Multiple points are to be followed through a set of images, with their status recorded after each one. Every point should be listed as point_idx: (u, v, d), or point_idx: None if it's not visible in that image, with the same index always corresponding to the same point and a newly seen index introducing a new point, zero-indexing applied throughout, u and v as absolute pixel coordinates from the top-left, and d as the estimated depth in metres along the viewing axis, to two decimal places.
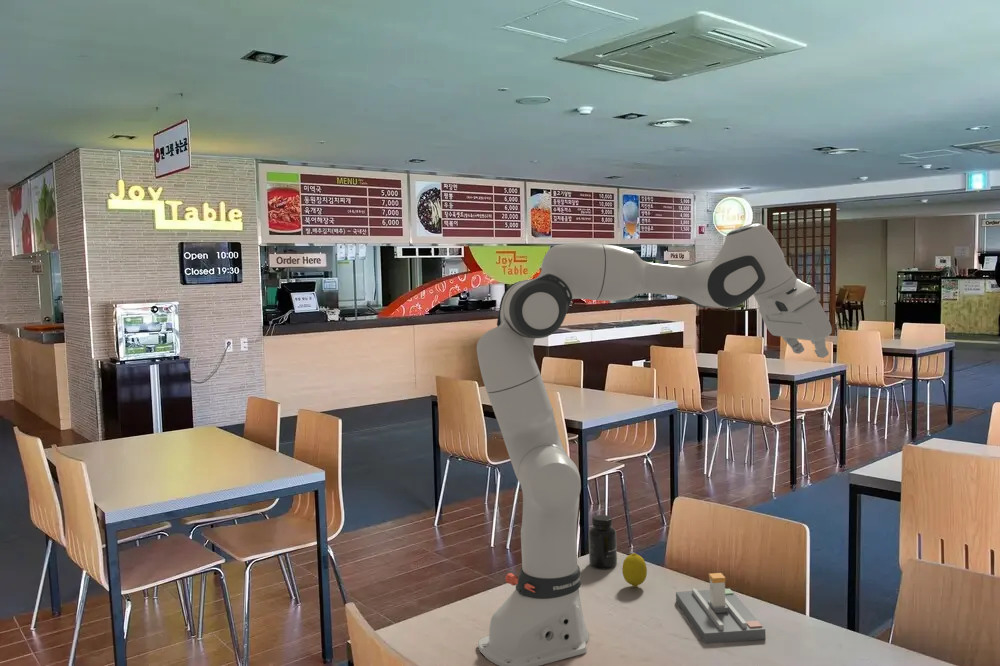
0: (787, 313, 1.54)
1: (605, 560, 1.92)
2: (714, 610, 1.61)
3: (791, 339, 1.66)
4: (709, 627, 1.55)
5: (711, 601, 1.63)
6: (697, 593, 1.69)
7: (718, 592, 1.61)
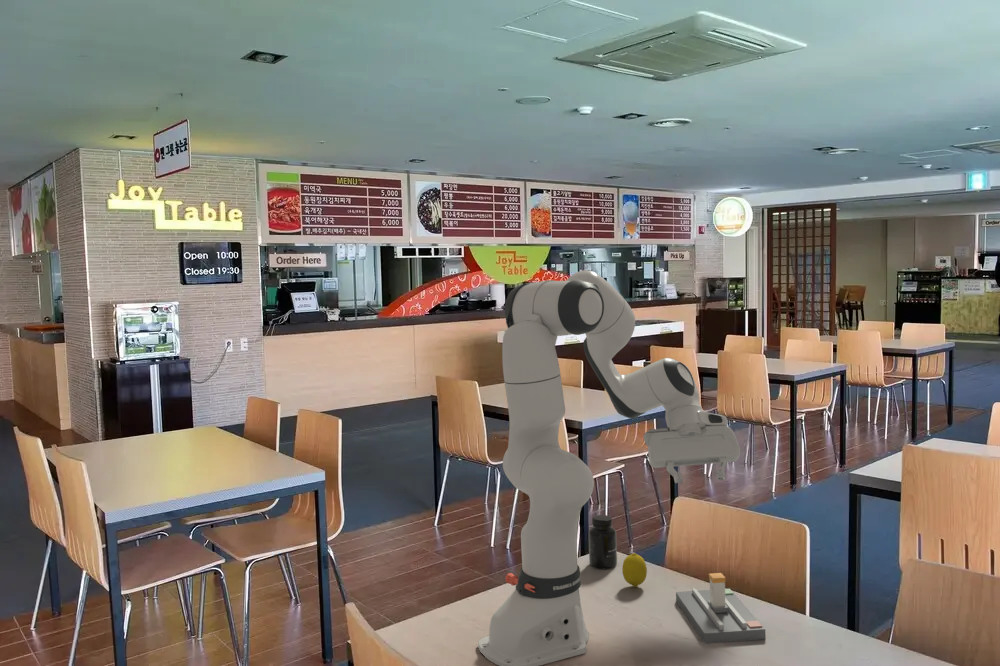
0: (715, 426, 1.78)
1: (605, 560, 1.92)
2: (714, 610, 1.61)
3: None
4: (709, 627, 1.55)
5: (711, 601, 1.63)
6: (697, 593, 1.69)
7: (718, 592, 1.61)
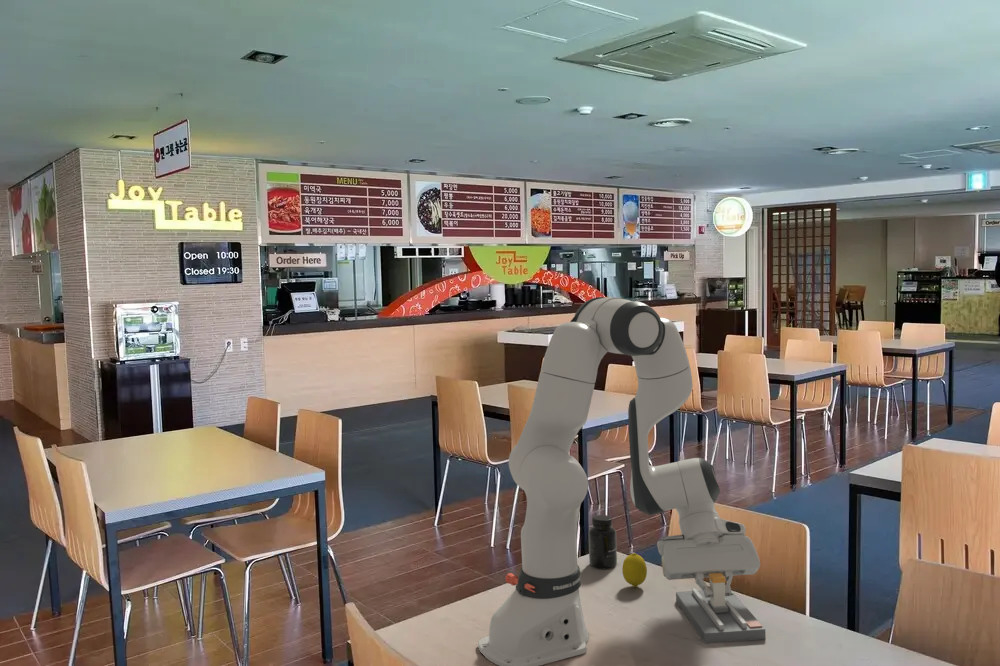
0: (733, 536, 1.68)
1: (605, 560, 1.92)
2: (714, 610, 1.61)
3: None
4: (709, 627, 1.55)
5: (711, 601, 1.63)
6: (697, 593, 1.69)
7: (718, 592, 1.61)
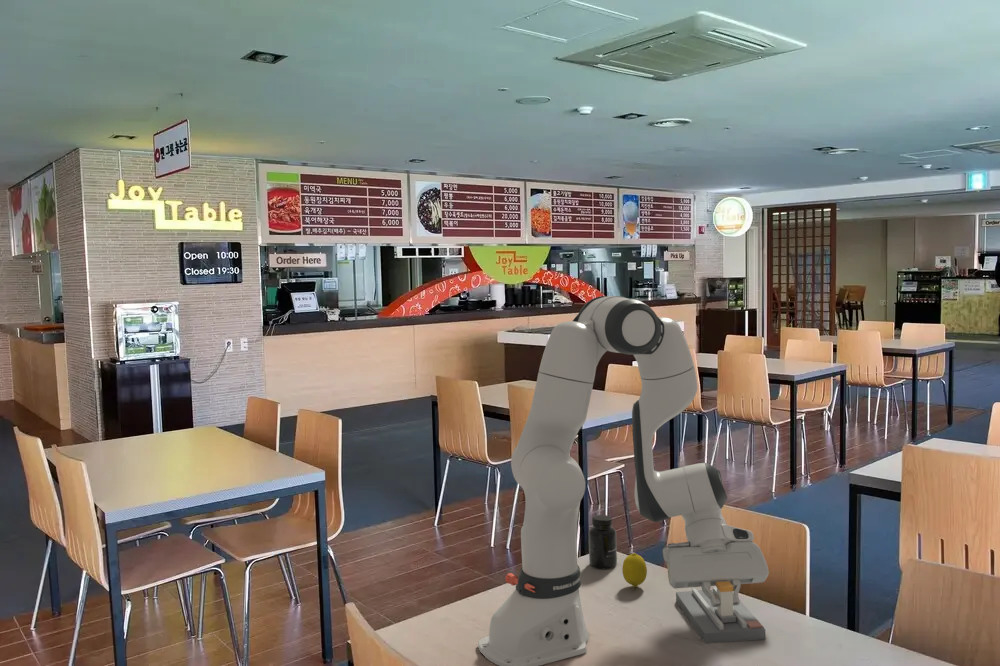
0: (741, 543, 1.63)
1: (605, 560, 1.92)
2: (721, 620, 1.56)
3: None
4: (709, 627, 1.55)
5: (718, 610, 1.59)
6: (697, 593, 1.69)
7: (726, 601, 1.57)
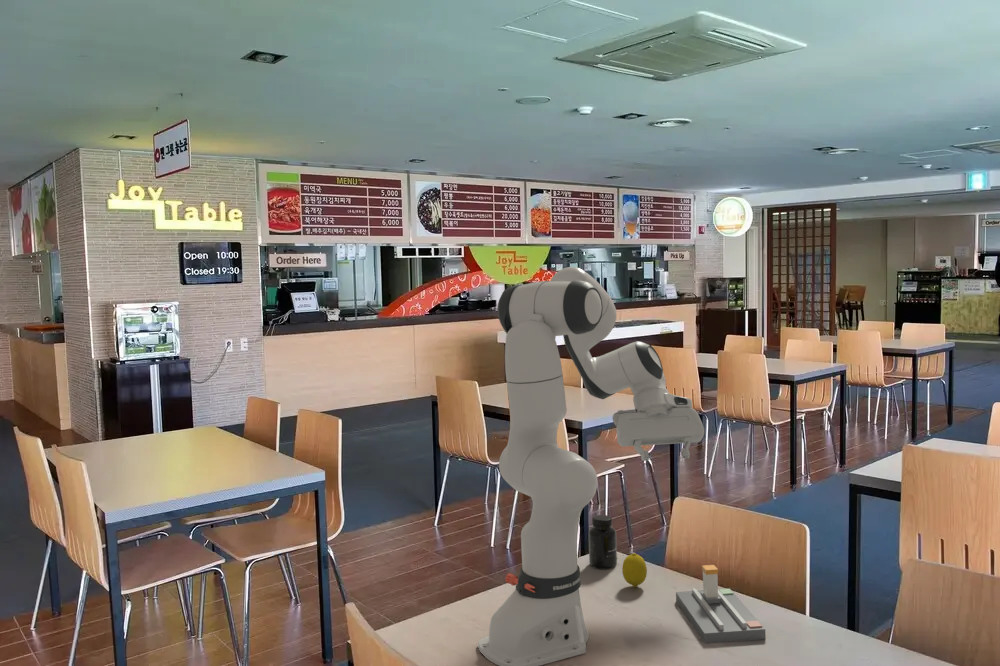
0: (681, 408, 1.86)
1: (605, 560, 1.92)
2: (707, 601, 1.65)
3: None
4: (709, 627, 1.55)
5: (704, 592, 1.68)
6: (697, 593, 1.69)
7: (711, 583, 1.66)
